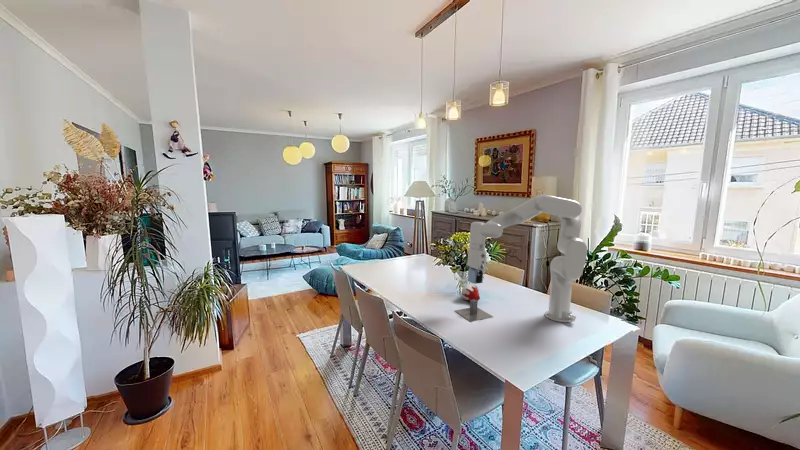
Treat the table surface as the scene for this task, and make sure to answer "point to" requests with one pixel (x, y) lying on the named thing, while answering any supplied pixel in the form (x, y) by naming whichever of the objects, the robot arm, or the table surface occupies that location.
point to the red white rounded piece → (470, 292)
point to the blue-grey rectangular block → (473, 275)
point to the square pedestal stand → (473, 312)
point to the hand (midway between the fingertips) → (475, 280)
